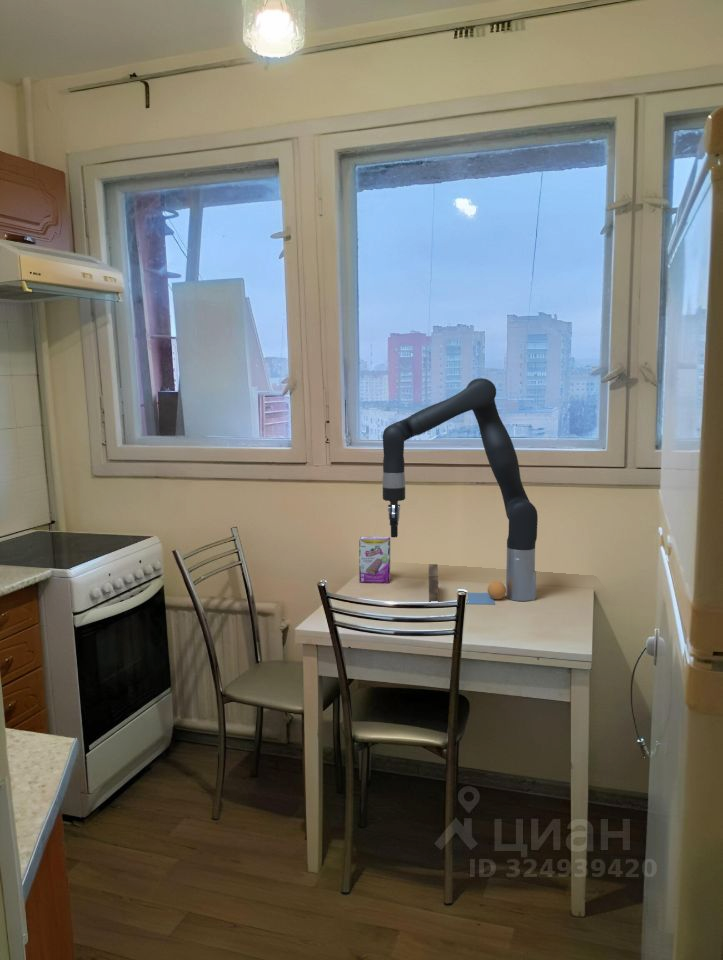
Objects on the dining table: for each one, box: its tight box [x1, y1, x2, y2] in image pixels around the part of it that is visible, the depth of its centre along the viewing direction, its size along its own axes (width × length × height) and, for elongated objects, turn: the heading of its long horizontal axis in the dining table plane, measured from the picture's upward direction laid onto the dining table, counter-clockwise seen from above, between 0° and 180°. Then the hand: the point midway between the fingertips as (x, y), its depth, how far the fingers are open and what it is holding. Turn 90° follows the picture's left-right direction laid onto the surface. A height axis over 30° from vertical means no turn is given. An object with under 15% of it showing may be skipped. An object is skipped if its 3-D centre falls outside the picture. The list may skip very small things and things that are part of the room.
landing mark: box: [466, 592, 496, 605], centre depth 236 cm, size 12×12×1 cm
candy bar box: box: [358, 536, 391, 584], centre depth 257 cm, size 11×5×16 cm, turn 84°
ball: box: [487, 580, 506, 600], centre depth 235 cm, size 6×6×6 cm
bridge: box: [428, 563, 439, 603], centre depth 237 cm, size 3×15×10 cm, turn 175°
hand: (394, 536), depth 236 cm, fingers closed
